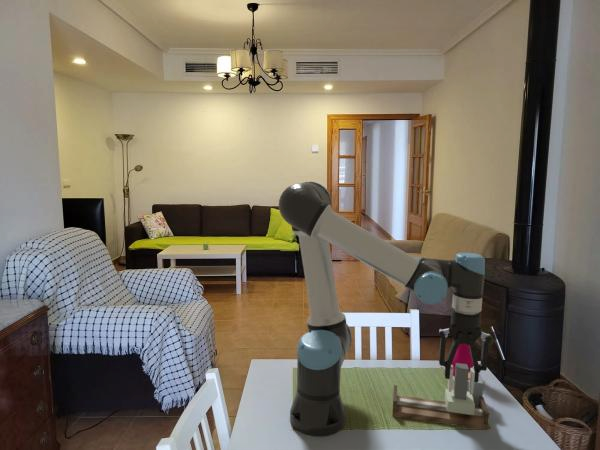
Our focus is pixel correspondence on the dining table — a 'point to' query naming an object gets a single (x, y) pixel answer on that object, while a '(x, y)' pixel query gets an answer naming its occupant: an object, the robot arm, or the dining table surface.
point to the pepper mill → (463, 357)
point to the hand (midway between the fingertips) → (460, 390)
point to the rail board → (438, 411)
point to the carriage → (460, 393)
